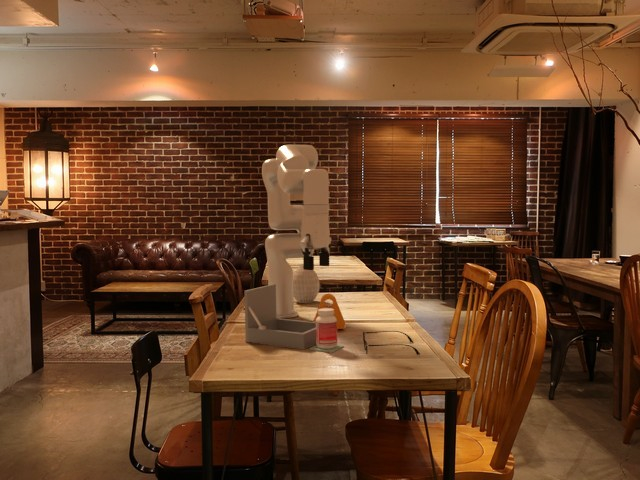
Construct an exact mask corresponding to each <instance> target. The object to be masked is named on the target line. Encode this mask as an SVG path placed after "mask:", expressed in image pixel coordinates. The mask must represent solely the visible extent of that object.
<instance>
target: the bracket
mask: <svg viewBox="0 0 640 480" xmlns="http://www.w3.org/2000/svg"><path fill="white" fill-rule="evenodd" d="M327 300H330V301H332V303H331V304H330V305H326V304H325V302H326V301H327ZM323 308H331V309H334V315H333V316H334V317H336V319H337V332H338V330H339V329H340V330H346V322H345V319H344V317H343V314H342V312H341V308H340V306H339V303H338V301H337V299H336V296H335V295H333V294H331V293H326V294H324V295H322V296H321V298H320V302H319V305H318V307H317V310H316V313H315V316H314V319H312V322H316V318H317V317H319V315H318V310H319V309H323Z"/></svg>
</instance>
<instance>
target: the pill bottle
mask: <svg viewBox="0 0 640 480" xmlns="http://www.w3.org/2000/svg"><path fill="white" fill-rule="evenodd" d="M317 310H318V309H317ZM318 315H319V317H317V318H316V344H315V346H316V345H317V347H318V348H321V349H331V348H335V347H337V345H338V331H337V330H338V329H337V319H336V317H334V316H333V315H334V309H331V308H323V309H319V310H318Z"/></svg>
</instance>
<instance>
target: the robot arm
mask: <svg viewBox="0 0 640 480" xmlns="http://www.w3.org/2000/svg"><path fill="white" fill-rule="evenodd" d="M275 154H276V155H275V156H276V158H270V159H266V160H265V161H264V162H263V163H262V166H261V177H262V181H263V184H264V187H265V190H266V192H267V219H268V224H269V228H271V230H275V231H292V230H293V231H294V230H296V232H297V233H296V232H294V233H292V232H291V233H286V232H284V233H275V234H274V233H273V234H271V235H268V236H267V237H266V238H265V242H264V248H265V254H266V260H267V281H268V284H267V285H271V284H276V318H279V319H292V318H296V317H297V316H298V314H299V313H298V311H296V310H294V307H295V306H294V297H293V274H294V270H293V267H292V265H290V263H289V262H288V261H287V259H301V258H303V262H302V264H303V268H304V270H314V269H315V263H314V261H315V259H314V258H315V256H313V255H314V252H315V250H319V253H318V254H319V262H318V263H319V266H320V267H329V266H330V252H331V250H330V249H331V243H332V237H331V236H330V223H329V222H330V221H329V214H330V213H329V212H330V208H329V205H330V204H329V203H330V202H329V200H330V199H329V196H330V195H329V194H330V193H329V191H330V190H329V185H330V184H329V172H328V170H326V169H324V168H316V167H317V165H318V164H319V163H318V161H319V156H318V155H319V153H318V151H317V149H316V148H315V147H314V146H313V145H311V144H284V145H282V146H280V147H279V148H278V150H277V151H276V153H275ZM291 195H302V196H303V205H302V204H291ZM314 271H315V270H314Z"/></svg>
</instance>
